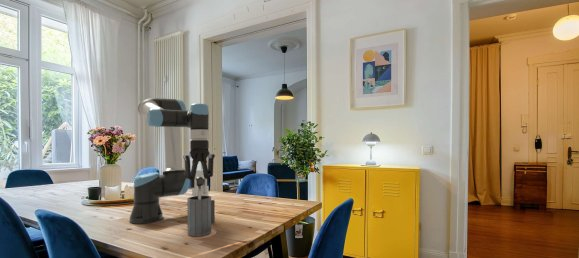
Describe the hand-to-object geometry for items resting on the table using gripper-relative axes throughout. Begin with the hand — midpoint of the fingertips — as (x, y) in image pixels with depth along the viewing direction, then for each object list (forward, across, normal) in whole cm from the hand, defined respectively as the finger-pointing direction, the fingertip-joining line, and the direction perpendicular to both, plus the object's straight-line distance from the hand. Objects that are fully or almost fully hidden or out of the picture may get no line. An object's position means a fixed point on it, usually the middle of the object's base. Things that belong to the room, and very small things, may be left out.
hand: (199, 194), depth 121 cm
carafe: (+16, 0, 0) cm, 16 cm away
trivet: (+17, 0, 0) cm, 17 cm away
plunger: (+12, 0, 0) cm, 12 cm away
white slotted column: (+17, +9, +17) cm, 26 cm away
